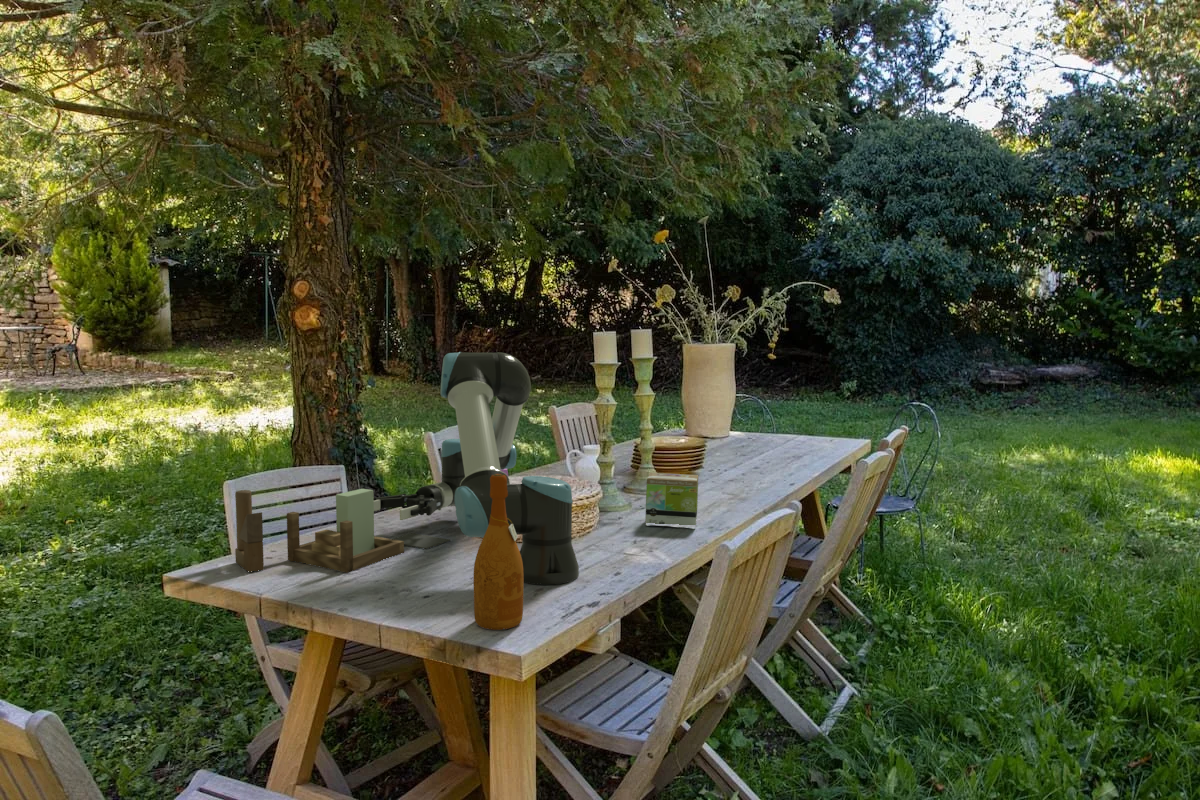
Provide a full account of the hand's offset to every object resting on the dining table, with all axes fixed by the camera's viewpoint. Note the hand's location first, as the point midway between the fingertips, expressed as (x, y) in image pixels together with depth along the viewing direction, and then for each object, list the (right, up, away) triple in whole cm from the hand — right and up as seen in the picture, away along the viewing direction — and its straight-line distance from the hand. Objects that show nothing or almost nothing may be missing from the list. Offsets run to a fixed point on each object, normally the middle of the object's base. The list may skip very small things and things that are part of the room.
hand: (381, 512), depth 217 cm
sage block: (-4, -10, -7) cm, 13 cm away
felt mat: (+9, -9, +5) cm, 13 cm away
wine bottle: (+38, -15, -55) cm, 68 cm away
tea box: (+80, -8, +27) cm, 84 cm away
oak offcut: (-9, -8, -15) cm, 19 cm away
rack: (-6, -10, -10) cm, 15 cm away
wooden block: (-27, -11, -19) cm, 35 cm away
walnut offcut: (-9, -6, -15) cm, 18 cm away
